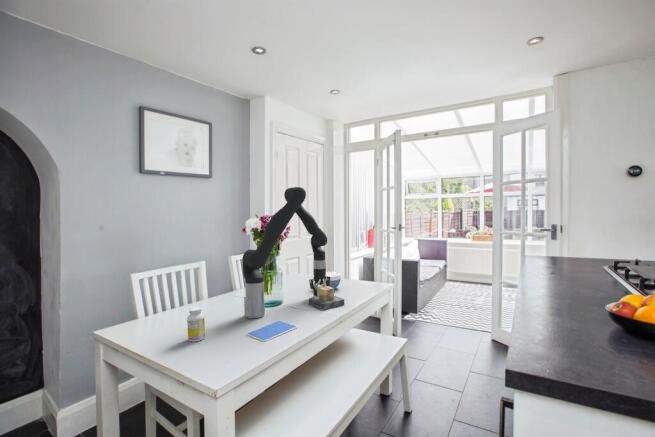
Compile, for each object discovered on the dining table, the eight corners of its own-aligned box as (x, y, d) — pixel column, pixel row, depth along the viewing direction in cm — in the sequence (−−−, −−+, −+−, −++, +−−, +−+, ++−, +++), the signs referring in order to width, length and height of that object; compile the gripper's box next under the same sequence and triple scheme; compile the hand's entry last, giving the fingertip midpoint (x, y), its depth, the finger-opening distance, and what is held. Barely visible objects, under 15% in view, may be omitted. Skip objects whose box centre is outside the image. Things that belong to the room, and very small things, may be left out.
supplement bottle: (200, 334, 140) (199, 305, 139) (208, 338, 135) (207, 308, 135) (185, 339, 134) (183, 309, 134) (193, 343, 130) (191, 312, 130)
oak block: (325, 301, 175) (325, 290, 175) (319, 298, 180) (318, 287, 179) (334, 299, 178) (333, 288, 178) (327, 296, 183) (327, 286, 183)
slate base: (323, 309, 169) (323, 304, 169) (309, 303, 181) (309, 298, 181) (344, 304, 177) (344, 299, 177) (329, 298, 189) (329, 293, 189)
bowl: (314, 286, 218) (314, 272, 218) (336, 284, 223) (336, 270, 223) (321, 292, 203) (320, 277, 203) (344, 290, 208) (344, 275, 208)
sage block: (318, 299, 189) (318, 288, 189) (313, 296, 194) (313, 286, 194) (327, 297, 193) (327, 287, 193) (321, 295, 198) (321, 285, 197)
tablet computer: (264, 343, 130) (264, 340, 130) (245, 336, 138) (245, 333, 138) (298, 329, 145) (298, 326, 145) (279, 322, 153) (279, 320, 153)
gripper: (325, 264, 200) (326, 291, 201) (306, 267, 192) (306, 295, 192) (333, 266, 194) (333, 294, 195) (312, 269, 186) (313, 298, 186)
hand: (320, 294), depth 193 cm, fingers closed on sage block, 6 cm apart
